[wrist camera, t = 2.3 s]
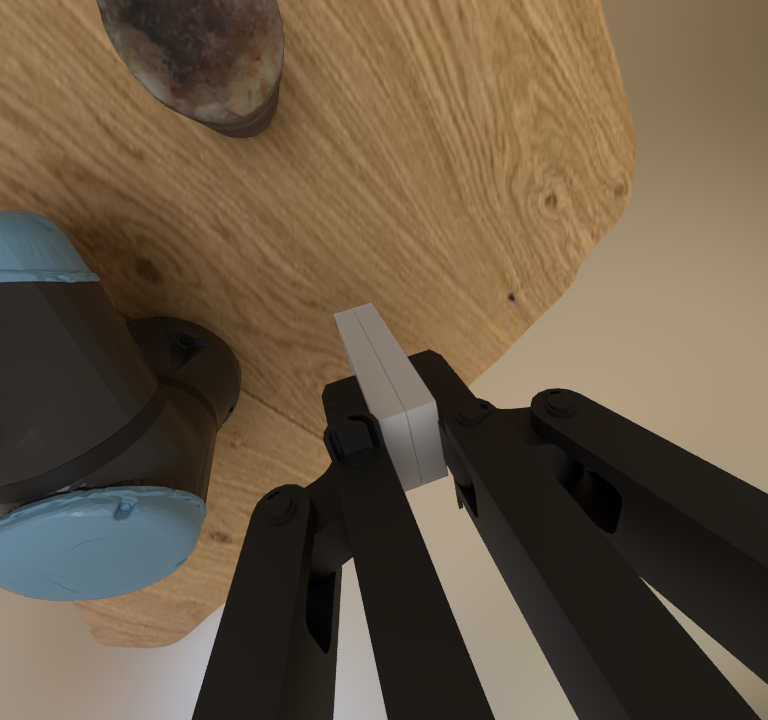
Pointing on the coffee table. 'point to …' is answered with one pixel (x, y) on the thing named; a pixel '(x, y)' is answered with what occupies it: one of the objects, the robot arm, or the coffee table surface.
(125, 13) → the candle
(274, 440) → the coffee table surface
